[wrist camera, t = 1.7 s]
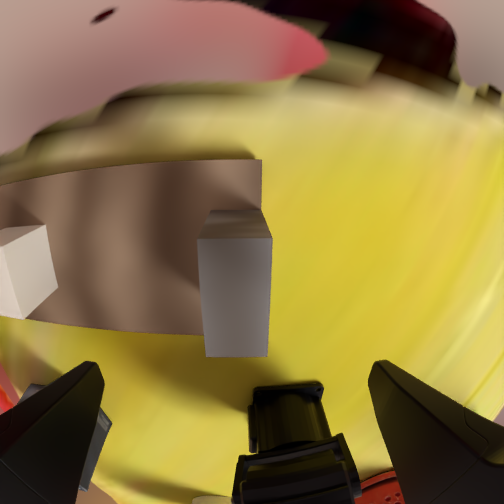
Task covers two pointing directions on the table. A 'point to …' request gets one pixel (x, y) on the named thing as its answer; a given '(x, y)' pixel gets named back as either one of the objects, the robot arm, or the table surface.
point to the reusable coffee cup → (212, 500)
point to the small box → (96, 442)
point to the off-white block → (25, 270)
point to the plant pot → (381, 490)
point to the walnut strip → (155, 249)
